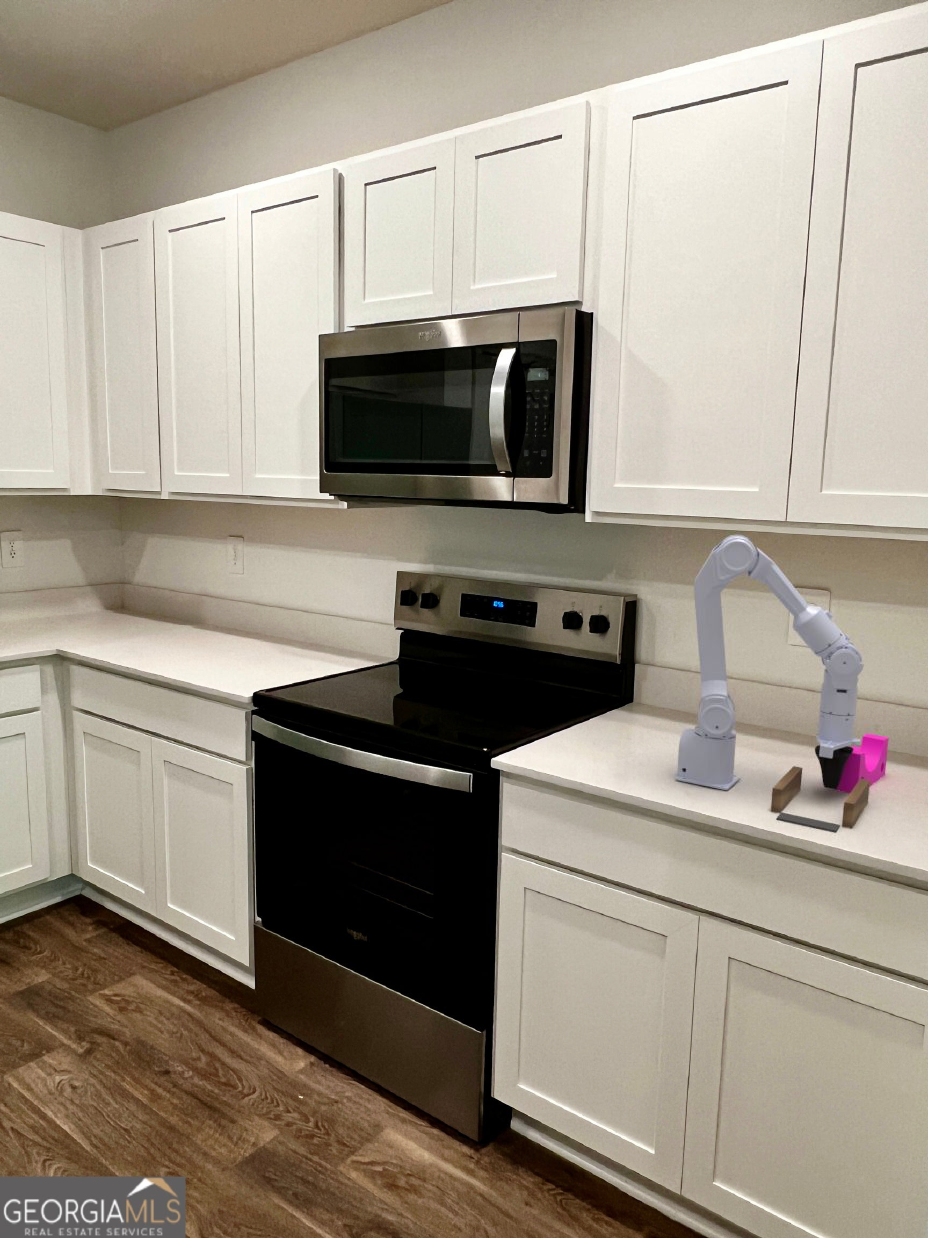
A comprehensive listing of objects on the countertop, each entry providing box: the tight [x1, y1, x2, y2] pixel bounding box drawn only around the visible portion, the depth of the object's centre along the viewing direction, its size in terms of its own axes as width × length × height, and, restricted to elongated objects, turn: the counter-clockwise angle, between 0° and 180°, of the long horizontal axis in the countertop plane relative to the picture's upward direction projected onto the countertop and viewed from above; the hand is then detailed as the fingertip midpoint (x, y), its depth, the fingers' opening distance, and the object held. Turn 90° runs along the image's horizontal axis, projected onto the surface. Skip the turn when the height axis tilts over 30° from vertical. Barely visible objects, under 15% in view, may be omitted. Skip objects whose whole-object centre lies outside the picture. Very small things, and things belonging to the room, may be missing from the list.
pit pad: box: [776, 811, 841, 833], centre depth 143 cm, size 9×3×1 cm, turn 57°
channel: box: [770, 765, 871, 829], centre depth 150 cm, size 12×14×4 cm
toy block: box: [835, 733, 890, 794], centre depth 164 cm, size 15×6×8 cm, turn 138°
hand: (830, 787), depth 157 cm, fingers closed
